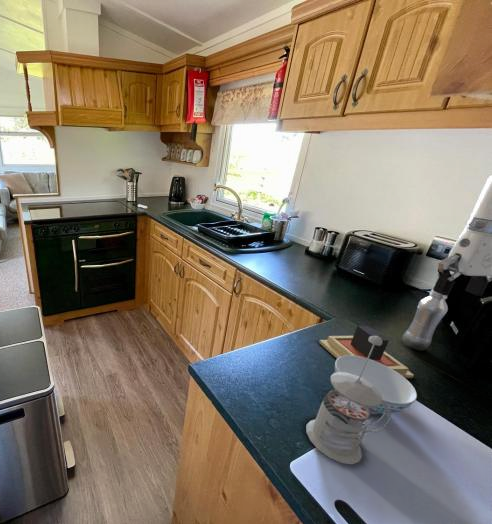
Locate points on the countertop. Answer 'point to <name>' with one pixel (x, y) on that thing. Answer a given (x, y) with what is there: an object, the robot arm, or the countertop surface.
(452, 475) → the countertop surface
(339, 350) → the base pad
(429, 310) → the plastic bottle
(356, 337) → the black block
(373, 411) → the chinaware
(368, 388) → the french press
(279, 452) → the countertop surface
